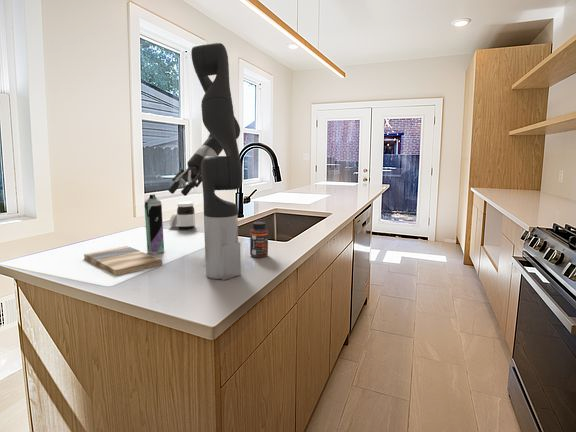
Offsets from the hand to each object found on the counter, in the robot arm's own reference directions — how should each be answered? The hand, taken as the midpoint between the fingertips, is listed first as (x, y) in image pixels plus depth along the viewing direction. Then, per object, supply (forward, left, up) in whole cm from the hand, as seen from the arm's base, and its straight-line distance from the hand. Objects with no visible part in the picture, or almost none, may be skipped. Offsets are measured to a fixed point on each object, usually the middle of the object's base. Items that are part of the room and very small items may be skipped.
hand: (176, 193), depth 132 cm
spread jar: (+28, -19, -20) cm, 39 cm away
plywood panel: (-3, +22, -20) cm, 30 cm away
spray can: (0, +9, -20) cm, 22 cm away
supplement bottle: (-30, -12, -20) cm, 38 cm away
